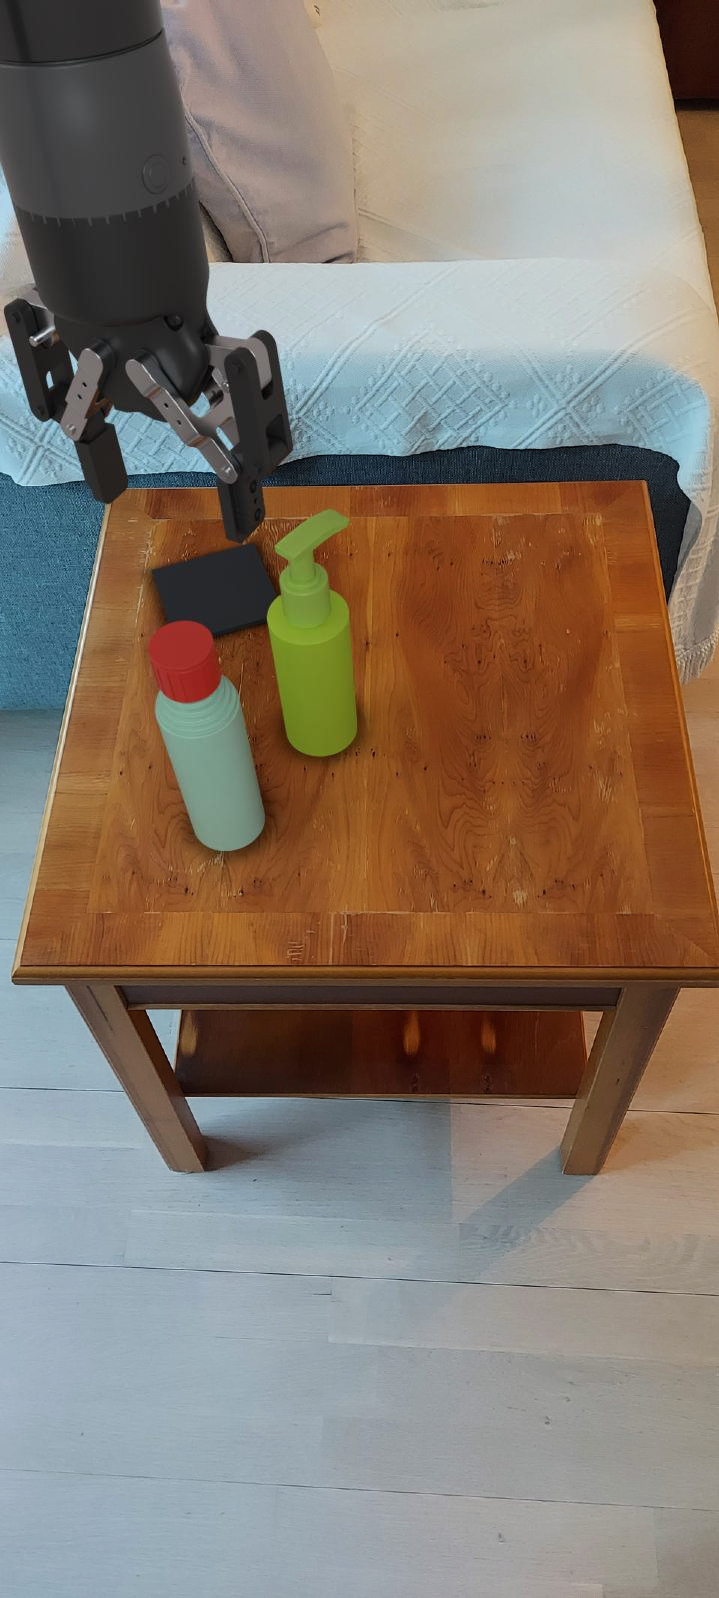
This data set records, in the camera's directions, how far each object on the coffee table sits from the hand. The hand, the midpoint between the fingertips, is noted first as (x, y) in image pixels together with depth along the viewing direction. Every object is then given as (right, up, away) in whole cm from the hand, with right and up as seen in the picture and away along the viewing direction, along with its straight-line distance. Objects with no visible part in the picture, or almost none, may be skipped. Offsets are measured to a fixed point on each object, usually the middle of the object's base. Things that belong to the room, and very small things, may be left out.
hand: (176, 513), depth 53 cm
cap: (-1, -7, +11) cm, 13 cm away
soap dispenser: (+7, -9, +29) cm, 32 cm away
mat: (-3, +4, +38) cm, 39 cm away
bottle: (0, -17, +24) cm, 30 cm away
